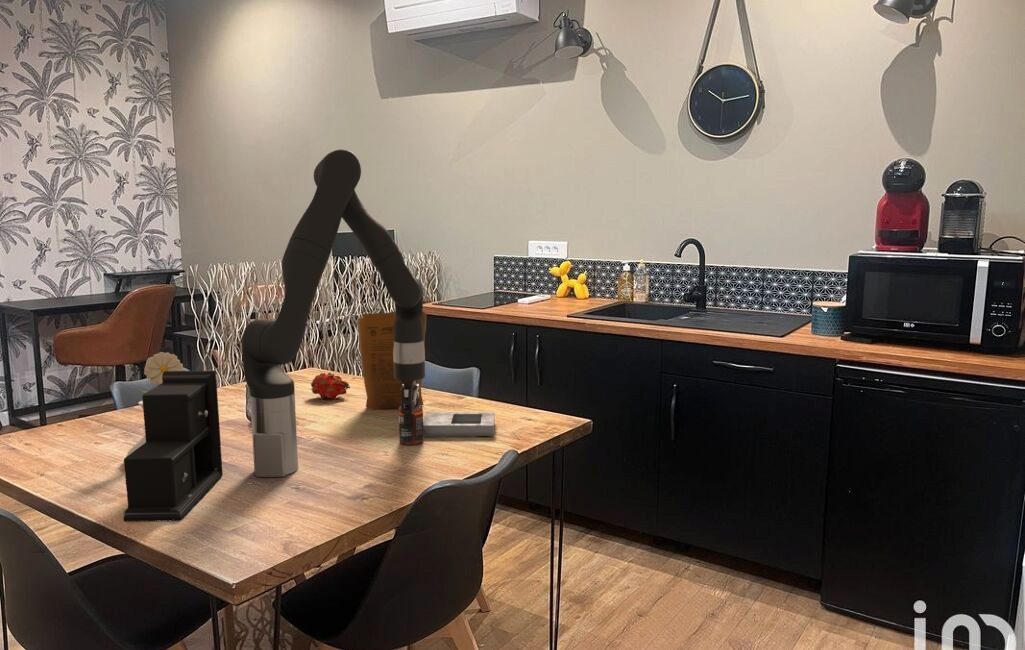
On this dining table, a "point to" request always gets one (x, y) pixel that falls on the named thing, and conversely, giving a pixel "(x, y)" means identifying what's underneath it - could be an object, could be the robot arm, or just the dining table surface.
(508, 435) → the dining table surface
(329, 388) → the dragon fruit
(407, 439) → the supplement bottle
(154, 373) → the flower in vase
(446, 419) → the grey block with hole
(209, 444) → the black drawer cabinet
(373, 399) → the pancake mix bag
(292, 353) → the robot arm
